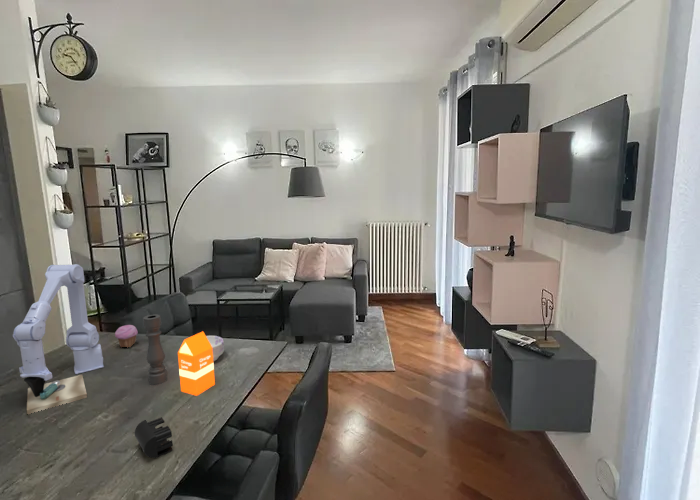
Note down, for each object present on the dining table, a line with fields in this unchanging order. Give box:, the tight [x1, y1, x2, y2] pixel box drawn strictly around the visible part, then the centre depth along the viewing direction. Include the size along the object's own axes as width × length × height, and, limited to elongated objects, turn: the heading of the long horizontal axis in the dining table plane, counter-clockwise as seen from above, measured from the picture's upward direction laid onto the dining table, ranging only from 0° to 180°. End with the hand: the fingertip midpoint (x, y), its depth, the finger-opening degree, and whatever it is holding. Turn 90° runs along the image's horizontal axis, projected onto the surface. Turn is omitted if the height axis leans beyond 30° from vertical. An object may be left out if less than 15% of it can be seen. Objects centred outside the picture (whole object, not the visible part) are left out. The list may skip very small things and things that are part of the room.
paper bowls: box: [206, 335, 225, 362], centre depth 162 cm, size 15×15×8 cm
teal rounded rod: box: [40, 379, 61, 399], centre depth 134 cm, size 9×2×2 cm, turn 8°
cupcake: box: [114, 324, 138, 349], centre depth 176 cm, size 9×9×10 cm
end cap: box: [134, 417, 174, 459], centre depth 107 cm, size 10×7×7 cm
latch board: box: [26, 374, 88, 415], centre depth 136 cm, size 16×18×2 cm
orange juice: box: [177, 330, 216, 397], centre depth 138 cm, size 8×9×20 cm
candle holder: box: [142, 313, 168, 386], centre depth 143 cm, size 6×6×25 cm
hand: (39, 395), depth 131 cm, fingers closed
